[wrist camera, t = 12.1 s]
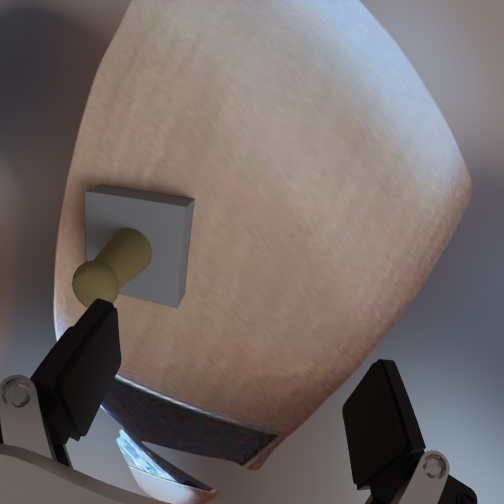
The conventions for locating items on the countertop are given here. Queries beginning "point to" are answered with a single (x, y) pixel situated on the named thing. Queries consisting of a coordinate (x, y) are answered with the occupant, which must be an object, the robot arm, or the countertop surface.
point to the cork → (112, 267)
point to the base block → (153, 228)
